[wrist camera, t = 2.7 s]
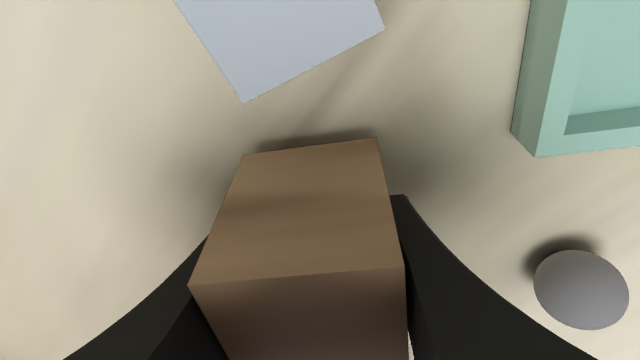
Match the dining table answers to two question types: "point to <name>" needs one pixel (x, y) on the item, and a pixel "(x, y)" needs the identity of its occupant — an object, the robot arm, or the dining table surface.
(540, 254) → the dining table surface
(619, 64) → the teal tray
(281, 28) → the slate block
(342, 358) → the walnut block
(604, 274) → the grey ball
